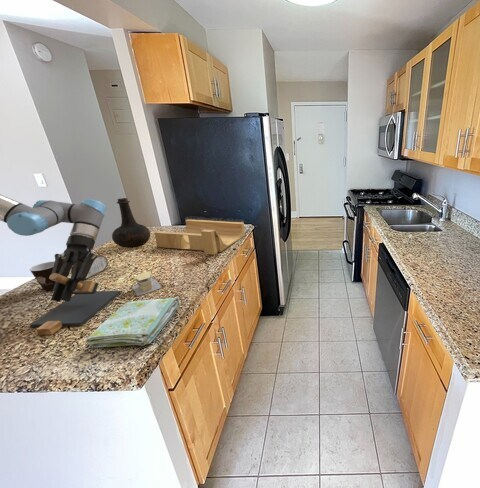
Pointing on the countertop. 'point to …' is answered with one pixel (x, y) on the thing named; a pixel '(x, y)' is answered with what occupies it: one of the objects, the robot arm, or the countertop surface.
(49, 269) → the coffee mug
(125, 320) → the towel
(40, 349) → the countertop surface
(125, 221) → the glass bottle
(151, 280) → the stacked layers on plate
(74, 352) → the countertop surface
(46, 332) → the wooden square block
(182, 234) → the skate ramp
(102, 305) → the serving tray
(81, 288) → the scrub brush
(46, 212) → the robot arm
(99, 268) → the tin
